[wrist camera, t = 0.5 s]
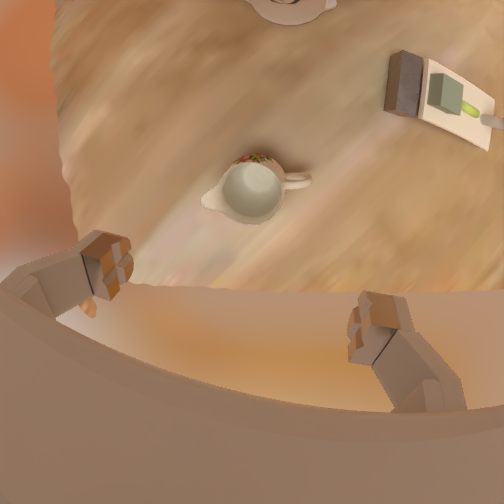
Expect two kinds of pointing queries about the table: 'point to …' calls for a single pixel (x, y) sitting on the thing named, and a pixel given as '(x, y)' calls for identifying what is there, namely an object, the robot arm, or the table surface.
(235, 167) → the pitcher
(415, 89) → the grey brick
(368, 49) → the table surface
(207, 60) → the table surface
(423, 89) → the plate
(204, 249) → the table surface
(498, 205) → the table surface
